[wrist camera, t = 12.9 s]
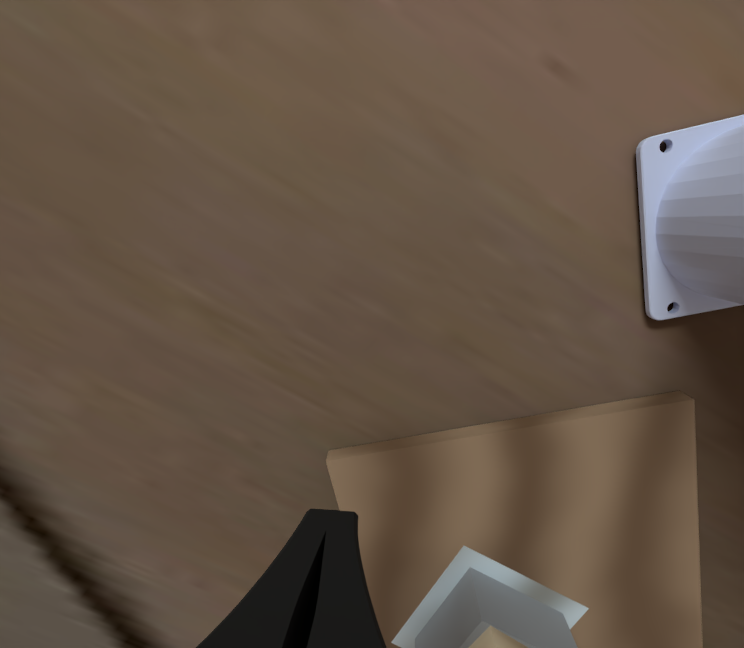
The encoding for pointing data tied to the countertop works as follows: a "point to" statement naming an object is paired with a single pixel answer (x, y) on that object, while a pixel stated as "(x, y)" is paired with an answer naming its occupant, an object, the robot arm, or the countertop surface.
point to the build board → (538, 519)
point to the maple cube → (495, 640)
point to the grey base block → (493, 617)
